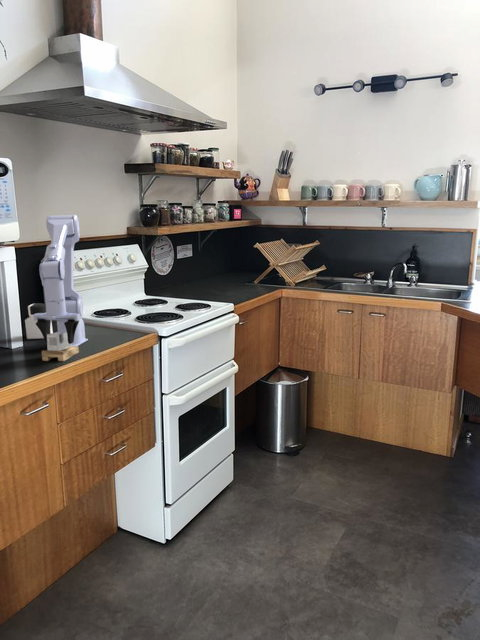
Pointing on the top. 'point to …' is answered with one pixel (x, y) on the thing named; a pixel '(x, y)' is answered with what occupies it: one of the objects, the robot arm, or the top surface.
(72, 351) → the stand
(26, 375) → the top surface
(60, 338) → the housing
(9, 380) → the top surface
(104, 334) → the top surface
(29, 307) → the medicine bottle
